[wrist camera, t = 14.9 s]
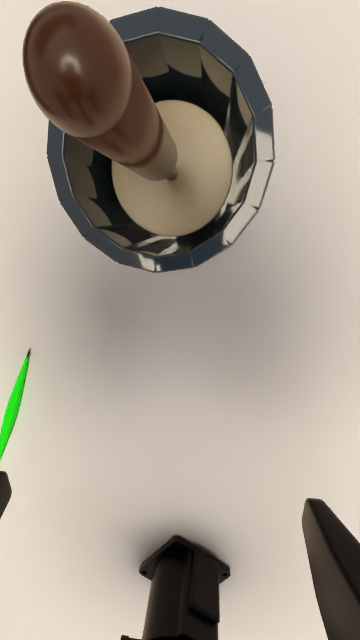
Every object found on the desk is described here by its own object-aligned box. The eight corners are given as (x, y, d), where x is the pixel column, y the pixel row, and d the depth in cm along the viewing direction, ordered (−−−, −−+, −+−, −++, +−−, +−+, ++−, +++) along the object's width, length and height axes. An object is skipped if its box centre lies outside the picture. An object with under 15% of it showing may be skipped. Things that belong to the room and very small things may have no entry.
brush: (190, 250, 17) (125, 347, 4) (117, 195, 16) (-201, 121, 4) (248, 170, 15) (417, -51, 3) (169, 105, 15) (-95, -583, 2)
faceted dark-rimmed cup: (194, 272, 18) (181, 310, 11) (98, 200, 17) (12, 187, 10) (273, 167, 16) (327, 123, 8) (166, 78, 15) (120, -61, 7)
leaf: (38, 347, 22) (32, 352, 21) (1, 471, 26) (-5, 478, 26) (28, 342, 22) (20, 346, 21) (-8, 466, 26) (-14, 474, 26)
